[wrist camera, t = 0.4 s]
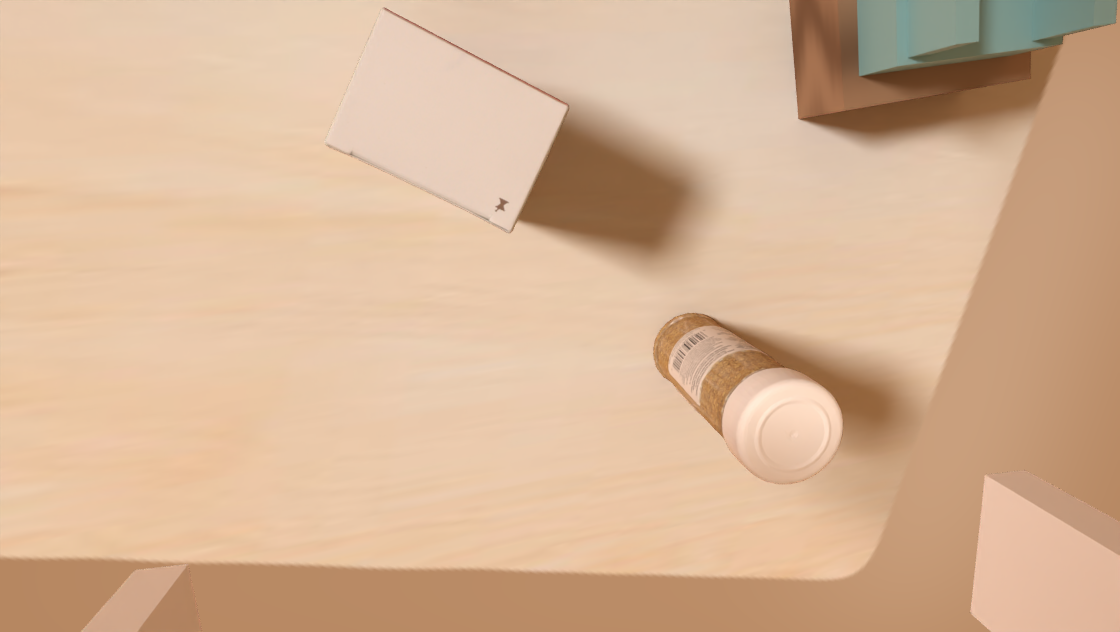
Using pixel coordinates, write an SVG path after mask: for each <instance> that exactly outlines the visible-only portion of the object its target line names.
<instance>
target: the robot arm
mask: <svg viewBox="0 0 1120 632" xmlns="http://www.w3.org/2000/svg"><path fill="white" fill-rule="evenodd" d="M971 614H972V615H973V616H974V617H976V618H977V619H978V620H979V621H980V622H981V623H982V624H983V625H984V626H986V627H987V628H988V629H989V630H990V631H991V632H1120V522H1119V521H1117V520H1116V519H1114V518H1112V517H1110V516H1108V515H1106V514H1104V513H1103V512H1101V511H1099V510H1097V509H1096V508H1094V507H1092V506H1090V505H1088V504H1086V503H1085V502H1082V501H1081V500H1079V499H1077V498H1075V497H1074V496H1072V495H1070V494H1068V493H1066V492H1065V491H1063V490H1060V489H1059V488H1057V487H1055V486H1054V485H1052V484H1050V483H1048V482H1046V481H1044V480H1043V479H1041V478H1039V477H1037V476H1035V475H1034V474H1032V473H1030V472H1028V471H1026V470H1024V471H1014V472H1005V473H996V474H988V475H985V480H984V490H983V499H982V509H981V518H980V529H979V538H978V547H977V556H976V566H975V576H974V586H973V594H972V604H971ZM81 632H202V628H201V623H200V618H199V613H198V609H197V604H196V600H195V595H194V590H193V585H192V580H191V576H190V571H189V566H188V564H185V565H176V566H168V567H159V568H149V569H141V570H135V571H134V572H133V573H132V574H131V575H130V576H129V577H128V579H127V580H126V581H125V582H124V583H123V584H122V586H121V587H120V588H119V589H118V590H117V591H116V592H115V593H114V595H113V596H112V597H111V598H110V599H109V600H108V602H106V604H105V605H104V606H103V607H102V608H101V609H100V611H99V612H98V613H97V614H96V615H95V616H94V617H93V619H92V620H91V621H90V622H89V623H88V624H87V625H86V627H85V628H84V629H83V630H82V631H81Z"/></svg>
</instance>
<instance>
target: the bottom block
mask: <svg viewBox="0 0 1120 632" xmlns="http://www.w3.org/2000/svg"><path fill="white" fill-rule="evenodd" d="M789 3H790V16H791V29H792V41H793V54H794V67H795V80H796V93H797V105H798V118H799V119H801V118H807V117H813V116H819V115H824V114H830V113H836V112H842V111H847V110H853V109H859V108H865V107H870V106H876V105H882V104H888V103H893V102H899V101H905V100H911V99H916V98H922V97H928V96H934V95H939V94H945V93H951V92H957V91H962V90H968V89H974V88H979V87H985V86H991V85H996V84H1002V83H1007V82H1013V81H1019V80H1024V79H1030V59H1031V51H1029V52H1025V53H1021V54H1016V55H1012V56H1005V57H998V58H991V59H983V60H976V61H969V62H961V63H954V64H946V65H939V66H932V67H924V68H917V69H910V70H902V71H895V72H887V73H880V74H873V75H865V76H859V55H858V19H857V0H789Z"/></svg>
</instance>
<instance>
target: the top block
mask: <svg viewBox="0 0 1120 632" xmlns="http://www.w3.org/2000/svg"><path fill="white" fill-rule="evenodd" d="M1116 10H1117V0H857V19H858V55H859V76H865V75H873V74H880V73H887V72H895V71H902V70H910V69H917V68H924V67H932V66H939V65H946V64H954V63H961V62H969V61H976V60H983V59H991V58H998V57H1005V56H1012V55H1016V54H1021V53H1025V52H1029V51H1034V50H1038V49H1043V48H1047V47H1051V46H1056V45H1060V44H1062V42H1063V36H1065V35H1069V34H1073V33H1077V32H1081V31H1085V30H1090V29H1094V28H1098V27H1102V26H1106V25H1110V24H1115V23H1116Z"/></svg>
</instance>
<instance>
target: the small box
mask: <svg viewBox="0 0 1120 632" xmlns="http://www.w3.org/2000/svg"><path fill="white" fill-rule="evenodd" d="M568 111H569V105H568V104H566V103H564V102H562V101H560V100H559V99H557V98H555V97H553V96H551V95H549V94H547V93H545V92H543V91H541V90H540V89H538V88H536V87H534V86H532V85H530V84H528V83H526V82H525V81H523V80H521V79H519V78H517V77H515V76H513V75H511V74H509V73H508V72H506V71H504V70H502V69H500V68H498V67H496V66H494V65H492V64H490V63H489V62H487V61H485V60H483V59H481V58H479V57H477V56H475V55H473V54H471V53H470V52H468V51H466V50H464V49H462V48H460V47H458V46H456V45H454V44H452V43H451V42H449V41H447V40H445V39H443V38H441V37H439V36H437V35H435V34H433V33H432V32H430V31H428V30H426V29H424V28H422V27H420V26H419V25H417V24H415V23H413V22H411V21H409V20H407V19H405V18H403V17H401V16H399V15H397V14H395V13H393V12H392V11H390V10H388V9H386V8H385V7H384V8H382V9H381V10H380V13H379V15H378V17H377V20H376V22H375V24H374V27H373V29H372V31H371V33H370V36H369V38H368V40H367V43H366V45H365V47H364V50H363V52H362V54H361V57H360V59H359V61H358V64H357V66H356V68H355V71H354V73H353V75H352V78H351V80H350V82H349V85H348V87H347V89H346V92H345V94H344V96H343V99H342V101H341V103H340V106H339V108H338V110H337V113H336V115H335V117H334V120H333V122H332V124H331V127H330V129H329V132H328V134H327V136H326V138H325V145H326V146H328V147H329V148H332V149H334V150H337V151H339V152H342V153H344V154H346V155H349V156H351V157H353V158H356V159H358V160H360V161H362V162H364V163H367V164H369V165H371V166H373V167H375V168H377V169H380V170H382V171H384V172H386V173H388V174H390V175H392V176H395V177H397V178H399V179H401V180H403V181H405V182H407V183H409V184H411V185H413V186H416V187H418V188H420V189H422V190H424V191H426V192H428V193H430V194H432V195H434V196H436V197H438V198H440V199H443V200H445V201H447V202H449V203H451V204H453V205H455V206H457V207H459V208H461V209H463V210H465V211H467V212H469V213H471V214H473V215H475V216H477V217H479V218H481V219H482V220H484V221H486V222H488V223H490V224H492V225H494V226H496V227H498V228H499V229H501V230H503V231H505V232H507V233H511V232H512V231H513V229H514V227H515V225H516V222H517V220H518V218H519V216H520V214H521V212H522V210H523V208H524V205H525V203H526V201H527V199H528V197H529V195H530V193H531V191H532V188H533V186H534V184H535V182H536V180H537V178H538V176H539V173H540V171H541V169H542V167H543V165H544V163H545V161H546V159H547V156H548V154H549V152H550V150H551V148H552V145H553V143H554V141H555V139H556V137H557V135H558V132H559V130H560V128H561V126H562V124H563V121H564V119H565V117H566V115H567V113H568Z"/></svg>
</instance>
